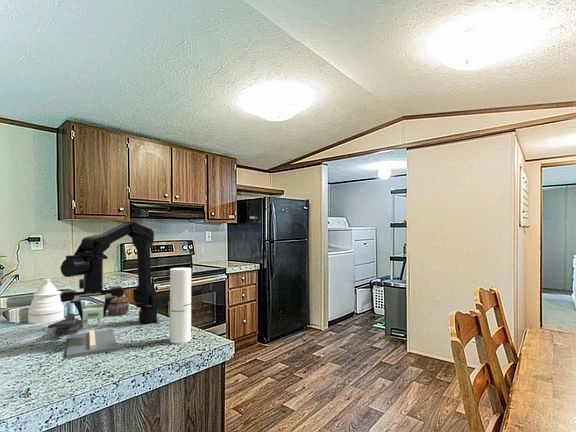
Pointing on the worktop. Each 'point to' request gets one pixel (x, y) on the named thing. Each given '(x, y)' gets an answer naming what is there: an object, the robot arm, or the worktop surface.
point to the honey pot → (46, 304)
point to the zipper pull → (67, 325)
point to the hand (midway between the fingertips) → (92, 318)
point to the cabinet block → (92, 313)
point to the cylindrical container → (180, 305)
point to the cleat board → (91, 343)
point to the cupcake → (118, 306)
